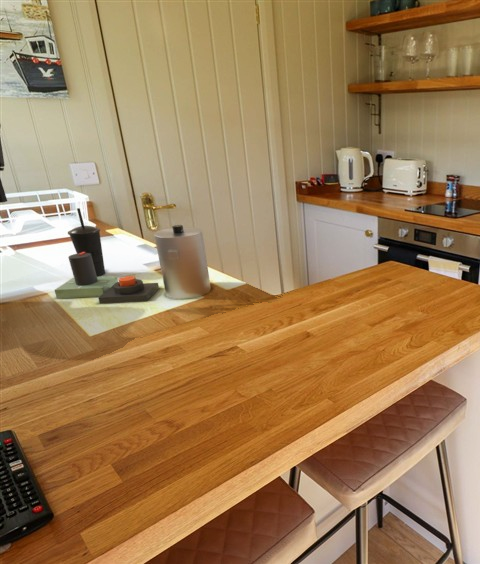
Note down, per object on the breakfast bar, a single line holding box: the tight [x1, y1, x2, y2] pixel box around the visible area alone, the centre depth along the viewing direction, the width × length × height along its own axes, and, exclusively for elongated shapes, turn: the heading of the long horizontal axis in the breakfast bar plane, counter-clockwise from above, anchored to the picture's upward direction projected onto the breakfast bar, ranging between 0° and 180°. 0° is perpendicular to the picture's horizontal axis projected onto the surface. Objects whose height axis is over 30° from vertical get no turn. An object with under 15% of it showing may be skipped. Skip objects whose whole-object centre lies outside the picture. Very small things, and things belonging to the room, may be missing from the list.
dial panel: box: [54, 275, 119, 300], centre depth 113 cm, size 11×9×3 cm
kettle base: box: [97, 278, 160, 304], centre depth 111 cm, size 11×9×4 cm
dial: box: [68, 252, 98, 285], centre depth 111 cm, size 5×5×8 cm
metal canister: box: [153, 224, 212, 300], centre depth 111 cm, size 14×11×19 cm
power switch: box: [118, 275, 136, 286], centre depth 110 cm, size 4×4×2 cm
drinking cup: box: [67, 207, 106, 277], centre depth 123 cm, size 8×8×20 cm
